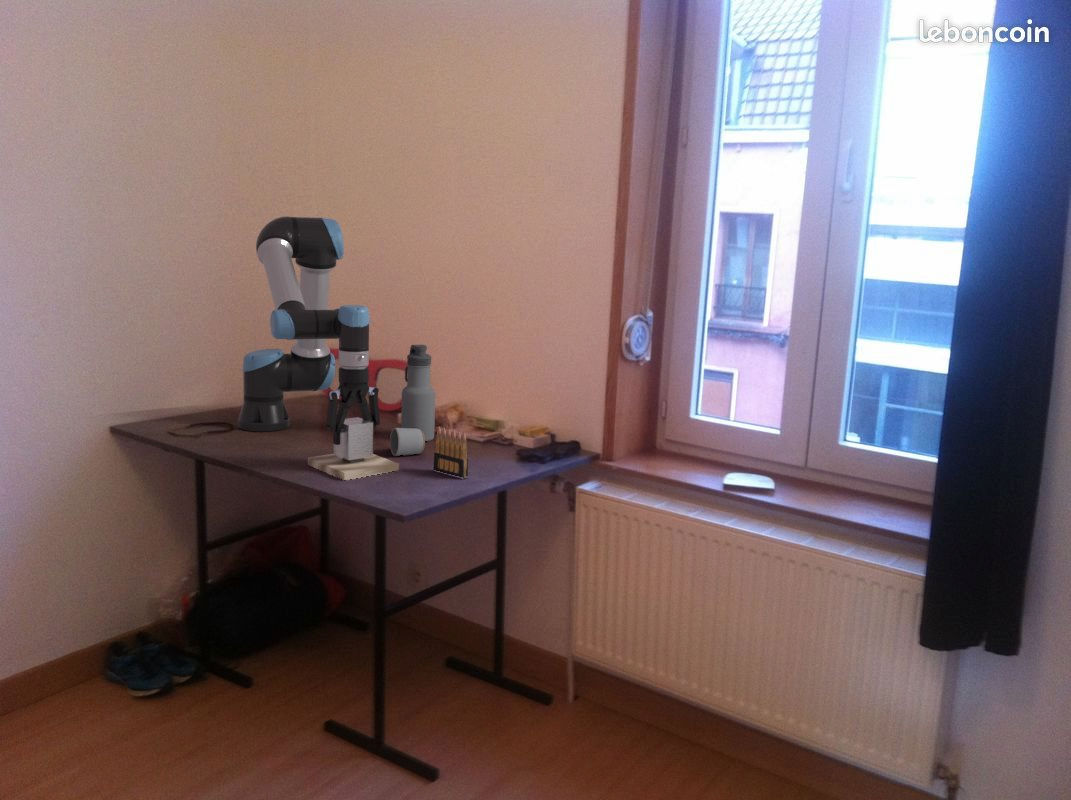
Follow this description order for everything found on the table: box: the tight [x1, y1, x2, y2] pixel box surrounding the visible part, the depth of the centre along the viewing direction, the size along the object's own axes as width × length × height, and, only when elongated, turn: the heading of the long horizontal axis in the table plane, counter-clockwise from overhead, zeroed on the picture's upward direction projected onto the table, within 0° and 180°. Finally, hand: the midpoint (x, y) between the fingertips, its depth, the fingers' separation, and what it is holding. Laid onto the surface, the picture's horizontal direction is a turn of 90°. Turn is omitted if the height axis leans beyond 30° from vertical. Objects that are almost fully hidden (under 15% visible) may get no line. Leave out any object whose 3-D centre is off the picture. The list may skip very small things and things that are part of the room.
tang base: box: [307, 453, 400, 481], centre depth 236 cm, size 18×16×8 cm
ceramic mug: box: [389, 427, 426, 457], centre depth 254 cm, size 11×8×8 cm
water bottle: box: [400, 344, 436, 442], centre depth 269 cm, size 10×10×28 cm
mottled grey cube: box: [333, 417, 374, 460], centre depth 235 cm, size 7×7×9 cm
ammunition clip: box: [432, 426, 469, 478], centre depth 233 cm, size 11×2×12 cm, turn 51°
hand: (353, 454), depth 236 cm, fingers closed on mottled grey cube, 7 cm apart
